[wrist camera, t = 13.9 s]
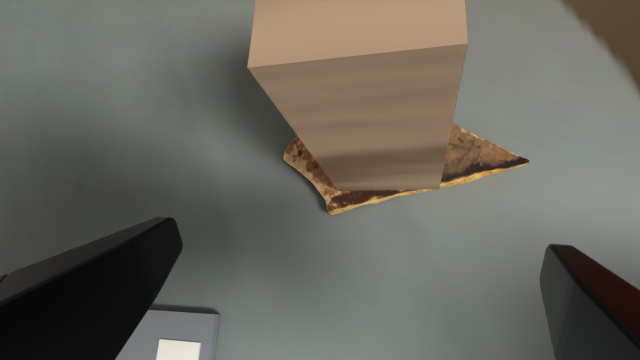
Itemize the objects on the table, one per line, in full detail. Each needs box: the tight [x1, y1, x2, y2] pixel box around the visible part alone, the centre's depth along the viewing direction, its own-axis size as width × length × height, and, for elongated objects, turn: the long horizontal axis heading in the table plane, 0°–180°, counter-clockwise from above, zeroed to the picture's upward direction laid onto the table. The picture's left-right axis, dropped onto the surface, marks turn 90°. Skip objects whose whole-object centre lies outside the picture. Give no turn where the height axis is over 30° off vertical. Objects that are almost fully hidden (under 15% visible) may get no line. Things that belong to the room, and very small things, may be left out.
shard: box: [283, 123, 530, 215], centre depth 20 cm, size 11×8×2 cm
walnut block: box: [247, 0, 468, 191], centre depth 14 cm, size 5×5×11 cm
